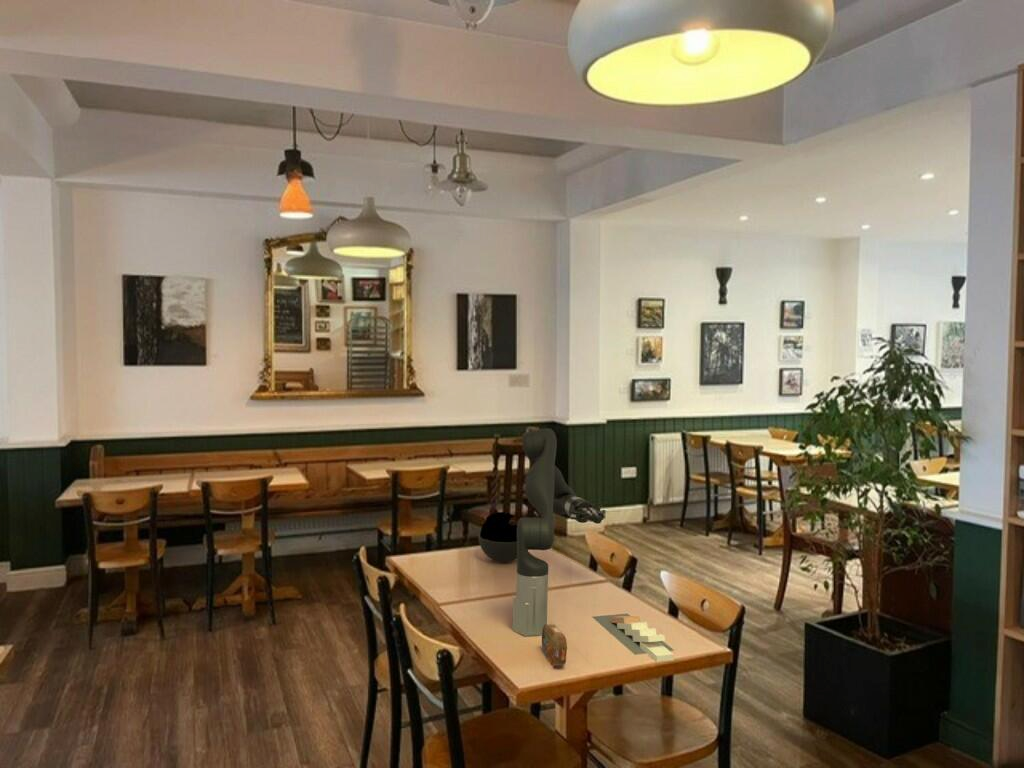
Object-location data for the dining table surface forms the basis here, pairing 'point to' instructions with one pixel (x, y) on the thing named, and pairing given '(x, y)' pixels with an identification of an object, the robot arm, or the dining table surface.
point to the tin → (554, 645)
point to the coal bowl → (499, 538)
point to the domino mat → (623, 634)
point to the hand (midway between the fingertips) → (598, 520)
